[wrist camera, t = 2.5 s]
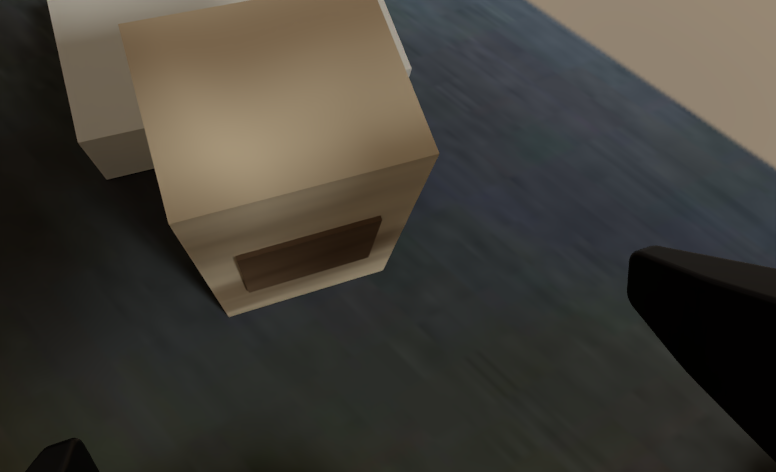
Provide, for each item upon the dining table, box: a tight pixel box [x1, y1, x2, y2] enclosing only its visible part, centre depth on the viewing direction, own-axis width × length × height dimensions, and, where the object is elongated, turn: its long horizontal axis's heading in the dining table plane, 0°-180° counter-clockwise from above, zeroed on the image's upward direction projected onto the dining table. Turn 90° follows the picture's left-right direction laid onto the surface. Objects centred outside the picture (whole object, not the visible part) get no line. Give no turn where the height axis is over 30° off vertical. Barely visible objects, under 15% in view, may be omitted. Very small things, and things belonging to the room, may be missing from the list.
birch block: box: [118, 0, 439, 317], centre depth 18 cm, size 5×6×10 cm
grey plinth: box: [47, 0, 412, 180], centre depth 23 cm, size 6×12×3 cm, turn 109°
